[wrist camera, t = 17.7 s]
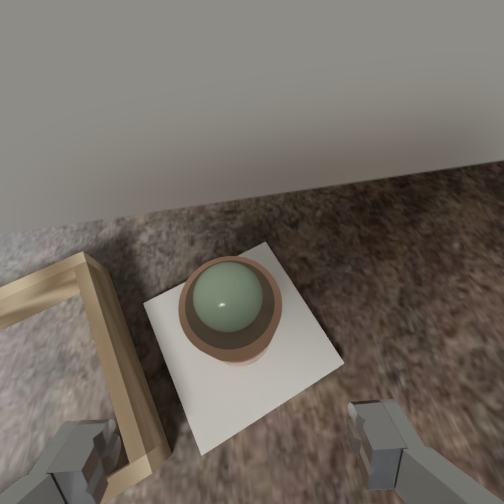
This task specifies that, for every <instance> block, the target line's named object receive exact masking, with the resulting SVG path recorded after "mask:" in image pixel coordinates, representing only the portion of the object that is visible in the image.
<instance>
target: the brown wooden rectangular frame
mask: <svg viewBox="0 0 504 504" xmlns="http://www.w3.org/2000/svg"><path fill="white" fill-rule="evenodd" d="M79 293H81V296H82V300H83V303H84V307H85V310H86V314H87V317H88V321H89V324H90V328H91V331H92V335H93V338H94V342H95V345H96V349H97V352H98V356H99V359H100V363H101V366H102V370H103V373H104V377H105V380H106V383H107V387H108V390H109V394H110V397H111V401H112V404H113V408H114V411H115V415H116V418H117V422H118V425H119V429H120V432H121V436H122V439H123V443H124V446H125V450H126V453H127V457H128V460H129V463H128V464H126V465H125V466H123V467H121V468H120V469H118V470H116V471H115V472H113V473H112V474H110V475H108V476H107V478H108V483H109V484H108V486H107V489H106V491H105V494H104V496H103V498H102V501H101V503H100V504H104V503H106V502H108V501H109V500H111V499H112V498H114V497H115V496H117V495H119V494H120V493H122V492H123V491H125V490H126V489H128V488H130V487H131V486H133V485H134V484H136V483H137V482H139V481H141V480H142V479H144V478H145V477H147V476H148V475H150V474H152V473H153V472H154V471H155V470H156V469H157V468H158V467H159V466H160V465H161V464H162V463H163V462H164V461H165V460H167V459H168V458H169V457H170V456H171V455H172V453H171V450H170V447H169V444H168V441H167V438H166V435H165V433H164V430H163V427H162V424H161V421H160V418H159V415H158V412H157V409H156V407H155V404H154V401H153V398H152V395H151V392H150V389H149V386H148V383H147V381H146V378H145V375H144V372H143V369H142V366H141V363H140V360H139V357H138V355H137V352H136V349H135V346H134V343H133V340H132V337H131V334H130V331H129V328H128V326H127V323H126V320H125V317H124V314H123V311H122V308H121V305H120V302H119V300H118V297H117V294H116V291H115V288H114V285H113V282H112V279H111V276H110V274H109V271H108V269H107V268H106V267H104V266H103V265H101V264H100V263H99V262H97V261H96V260H94V259H93V258H92V257H90V256H89V255H88V254H86V253H85V252H83V251H82V252H80V253H77V254H75V255H73V256H70V257H68V258H66V259H64V260H61V261H59V262H57V263H55V264H52V265H50V266H48V267H46V268H43V269H41V270H39V271H37V272H34V273H32V274H30V275H28V276H25V277H23V278H21V279H18V280H16V281H14V282H12V283H9V284H7V285H5V286H3V287H0V330H2V329H5V328H7V327H9V326H11V325H13V324H15V323H17V322H19V321H21V320H24V319H26V318H28V317H30V316H32V315H34V314H36V313H38V312H41V311H43V310H45V309H47V308H49V307H51V306H53V305H55V304H57V303H60V302H62V301H64V300H66V299H68V298H70V297H72V296H74V295H77V294H79Z"/></svg>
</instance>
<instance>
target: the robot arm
mask: <svg viewBox="0 0 504 504" xmlns="http://www.w3.org/2000/svg"><path fill="white" fill-rule="evenodd" d="M348 411H349V414H350V417H349V418H348V419H347V431H348V437H349V441H350V444H351V447H352V450H353V452H354V453H355V454H356V455H358V456H359V465H358V466H359V469H360V472H361V474H362V477H363V480H364V482H365V485H366V488H367V490H379V489H395V491H396V492H397V493H398V495H399V496H400V497H401V498H402V499H403V500H404V501H405V502H406V503H407V504H504V502H503V501H501V500H500V499H499V498H497V497H496V496H495V495H493V494H492V493H491V492H489V491H488V490H487V489H485V488H484V487H483V486H481V485H480V484H479V483H477V482H476V481H475V480H474V479H472V478H471V477H470V476H468V475H467V474H466V473H464V472H463V471H462V470H460V469H459V468H458V467H456V466H455V465H454V464H452V463H451V462H450V461H448V460H447V459H446V458H444V457H443V456H442V455H440V454H439V453H438V452H436V451H435V450H434V449H432V448H431V447H425V445H424V444H423V442H422V441H421V439H420V437H419V436H418V434H417V433H416V431H415V429H414V428H413V426H412V425H411V423H410V421H409V420H408V418H407V417H406V415H405V413H404V412H403V410H402V409H401V407H400V406H399V404H398V402H397V401H396V400H394V399H386V400H369V401H357V402H350V403H349V406H348ZM115 427H116V425H115V422H114V420H113V419H106V420H81V421H67V422H65V423H64V424H63V425H62V426H61V427H60V428H59V430H58V431H57V433H56V434H55V436H54V437H53V439H52V440H51V442H50V443H49V445H48V446H47V448H46V449H45V451H44V452H43V454H42V455H41V457H40V458H39V459H38V461H37V462H36V464H35V465H34V467H33V468H32V470H31V471H30V473H29V474H28V475H26V476H22V477H21V478H20V479H18V480H17V481H16V482H15V483H13V484H12V485H11V486H10V487H8V488H7V489H6V490H5V491H3V492H2V493H1V494H0V504H100V503H101V501H102V498H103V496H104V494H105V491H106V489H107V486H108V484H109V483H108V478H107V476H108V475H109V474H110V473H111V472H112V471H113V470H114V468H115V467H116V464H117V462H118V459H119V455H120V450H121V440H120V437H119V435H118V434H117V433H115V432H114V429H115Z"/></svg>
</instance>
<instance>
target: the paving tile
mask: <svg viewBox="0 0 504 504" xmlns="http://www.w3.org/2000/svg"><path fill="white" fill-rule="evenodd" d="M238 256H240V257H245V258H248V259H251V260H253V261H255V262H257V263H259V264H260V265H262V266H263V267H264V268H266V269H267V270H268V271H269V272H270V273H271V275H272V276H273V277H274V279H275V281H276V282H277V284H278V287H279V289H280V293H281V297H282V314H281V319H280V322H279V325H278V327H277V329H276V331H275V334H274V336H273V338H272V340H271V342H270V345H269V347H268V349H267V351H266V352H265V354H264V355H263V356H262V357H261V358H260V359H259V360H257V361H256V362H254V363H252V364H250V365H247V366H241V367H236V366H230V365H227V364H225V363H223V362H221V361H219V360H217V359H215V358H213V357H211V356H209V355H207V354H206V353H204V352H202V351H200V350H199V349H198V348H196V347H195V346H194V345H193V344H192V343H191V342H190V341H189V339H188V338H187V337H186V335H185V333H184V331H183V329H182V327H181V324H180V320H179V313H178V305H179V298H180V294H181V291H182V289H183V287H184V285H185V283H186V282H184V283H182V284H181V285H179V286H177V287H175V288H173V289H171V290H169V291H167V292H165V293H163V294H161V295H159V296H157V297H155V298H153V299H151V300H149V301H147V302H145V303H143V304H144V307H145V310H146V312H147V315H148V317H149V320H150V323H151V325H152V328H153V330H154V333H155V336H156V338H157V341H158V343H159V346H160V349H161V351H162V354H163V356H164V359H165V362H166V364H167V367H168V369H169V372H170V375H171V377H172V380H173V383H174V385H175V388H176V390H177V393H178V396H179V398H180V401H181V403H182V406H183V409H184V411H185V414H186V416H187V419H188V422H189V424H190V427H191V429H192V432H193V435H194V437H195V440H196V442H197V445H198V448H199V450H200V453H201V455H204V454H205V453H207V452H208V451H210V450H211V449H213V448H215V447H216V446H218V445H219V444H221V443H222V442H224V441H225V440H227V439H228V438H230V437H232V436H233V435H235V434H236V433H238V432H239V431H241V430H242V429H244V428H245V427H247V426H248V425H250V424H252V423H253V422H255V421H256V420H258V419H259V418H261V417H262V416H264V415H265V414H267V413H269V412H270V411H272V410H273V409H275V408H276V407H278V406H279V405H281V404H282V403H284V402H286V401H287V400H289V399H290V398H292V397H293V396H295V395H296V394H298V393H299V392H301V391H302V390H304V389H306V388H307V387H309V386H310V385H312V384H313V383H315V382H316V381H318V380H319V379H321V378H323V377H324V376H326V375H327V374H329V373H330V372H332V371H333V370H335V369H336V368H338V367H339V366H341V365H343V364H344V362H343V361H342V359H341V357H340V356H339V354H338V353H337V351H336V350H335V348H334V347H333V345H332V343H331V342H330V340H329V339H328V337H327V336H326V334H325V333H324V331H323V330H322V328H321V326H320V325H319V323H318V322H317V320H316V319H315V317H314V316H313V314H312V313H311V311H310V309H309V308H308V306H307V305H306V303H305V302H304V300H303V299H302V297H301V295H300V294H299V292H298V291H297V289H296V288H295V286H294V285H293V283H292V282H291V280H290V278H289V277H288V275H287V274H286V272H285V271H284V269H283V268H282V266H281V265H280V263H279V261H278V260H277V258H276V257H275V255H274V254H273V252H272V251H271V249H270V248H269V246H268V244H267V243H266V242H264V243H262V244H260V245H258V246H256V247H254V248H252V249H250V250H248V251H246V252H244V253H242V254H240V255H238Z"/></svg>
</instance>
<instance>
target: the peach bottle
mask: <svg viewBox="0 0 504 504" xmlns="http://www.w3.org/2000/svg"><path fill="white" fill-rule="evenodd" d="M178 313H179V320H180V324H181V327H182V329H183V331H184V333H185V335H186V337H187V338H188V339H189V341H190V342H191V343H192V344H193V345H194V346H195V347H196V348H198V349H199V350H200V351H202V352H204V353H206V354H207V355H209V356H211V357H213V358H215V359H217V360H219V361H221V362H223V363H225V364H227V365H230V366H236V367H241V366H247V365H250V364H252V363H254V362H256V361H257V360H259V359H260V358H261V357H262V356H263V355H264V354H265V352H266V351H267V349H268V347H269V345H270V342H271V340H272V338H273V336H274V334H275V331H276V329H277V327H278V325H279V322H280V319H281V314H282V297H281V293H280V289H279V287H278V284H277V282H276V281H275V279H274V277H273V276H272V275H271V273H270V272H269V271H268V270H267V269H266V268H264V267H263V266H262V265H260V264H259V263H257V262H255V261H253V260H251V259H248V258H245V257H240V256H225V257H220V258H216V259H213V260H211V261H208V262H207V263H205V264H203V265H202V266H200V267H199V268H198V269H197V270H196V271H194V272H193V273H192V275H191V276H190V277H189V278H188V280H187V281H186V283H185V285H184V287H183V289H182V291H181V294H180V298H179V305H178Z"/></svg>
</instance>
